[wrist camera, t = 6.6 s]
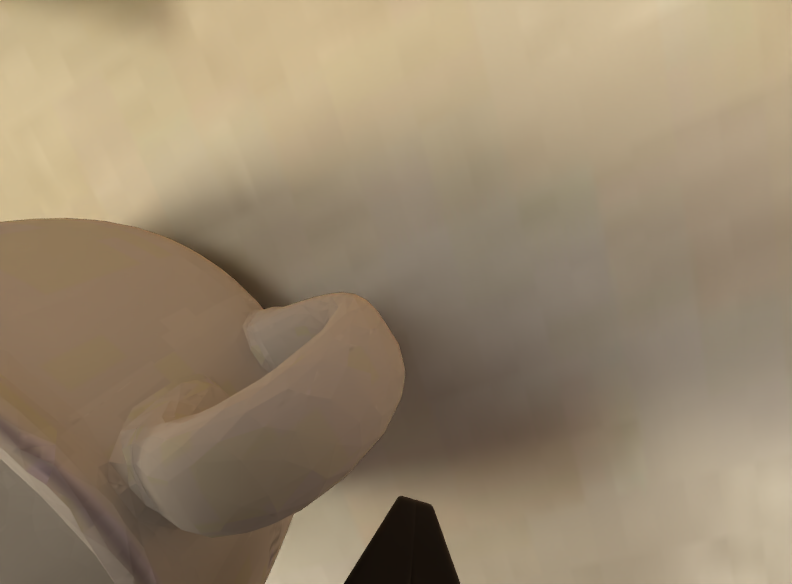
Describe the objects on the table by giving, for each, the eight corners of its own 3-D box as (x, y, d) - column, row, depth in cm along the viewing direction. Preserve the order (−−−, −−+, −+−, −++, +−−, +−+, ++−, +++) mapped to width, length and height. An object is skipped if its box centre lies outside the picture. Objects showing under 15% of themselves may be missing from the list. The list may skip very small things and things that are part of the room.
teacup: (121, 505, 16) (-160, 824, 9) (-54, 238, 13) (-758, 389, 5) (480, 453, 13) (519, 870, 6) (378, 88, 10) (148, -45, 2)
